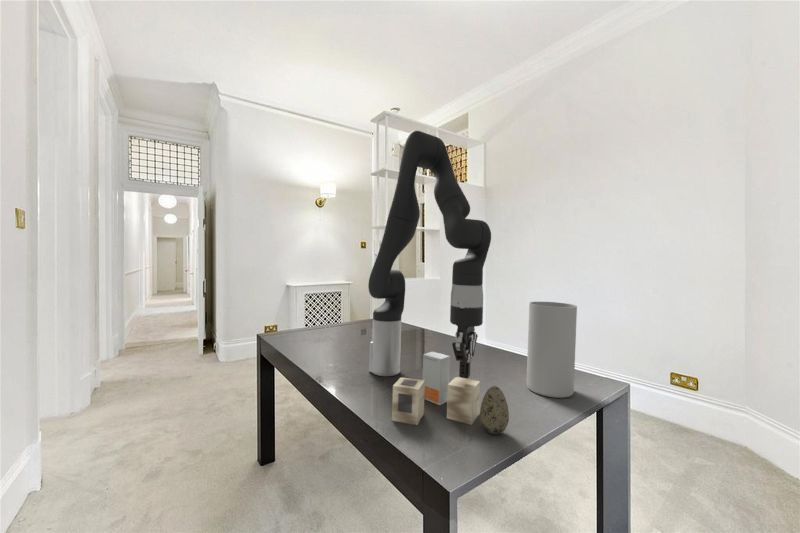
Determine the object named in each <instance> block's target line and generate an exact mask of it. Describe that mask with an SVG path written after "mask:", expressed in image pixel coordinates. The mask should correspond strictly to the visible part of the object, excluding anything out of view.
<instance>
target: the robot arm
mask: <svg viewBox="0 0 800 533" xmlns="http://www.w3.org/2000/svg"><path fill="white" fill-rule="evenodd" d="M401 153H402V154H401V159H400V164H399V170H398V176H397V181H396V185H395V186H396V187H395V190H394V194H393V198H392V202H391V205H390V208H389V212H388V216H387V219H386V223H385V224H386V225H385V228H384V232H383V236H382V238H381V239H382V240H381V244H380V247H379V250H378V253H377V256H376V258H375V260H374V263H373V266H372V268H371V272H370V275H369V278H368V293H369V295H370V296H371V297H372V298H374V299H377V300H378V299H381V300H382V299H385V300H384V302H383V303H382V304H381V305H380V306H378V307H377V308H375V309H374V310H373V311H372V312H373V313H372V338H371V339H372V340H371V341H370V342H369V351H368V352H369V356H368V357H369V359H368V372H370V373H372V374H373V375H376V376H379V377H393V376H397V375H398V374H400V373H401V346H402V345H401V344H402V315H403V312H404V309H405V296H406V279H405V278H406V277H405V275H404V274H403V273H402V271H400V270H398V269H392V268H393V266H394V263H395V261H396V259H397V258H398V256H399V255H400V254H401V252H403V251H404V250H405V248H406V247H407V246H408V245H409V244H410V243H411V241H412V240H413V238H414V236H415V234H416V232H417V227H418V224H419V221H420V215H421V210H420V204H419V201H418V196H417V193H416V186H415V185H416V184H415V182H416V176H417V171H418V168H421V169H424V170H429V171H430V172H431V173H432V174H433V176H434V177H435V179H436V181H435V184H434V187H433V188H434V189H433V195H434V200H435V202H436V204H437V207H438V208H439V211H440V212H441V215H442V219H443V227H444V234H445V235H444V236H445V239H446V241H447V243H449V245H450V246H451V247H453V248H454V249H461V250H464V249H465V250H467V252H466V254H465V256H464V258H461V259H457V260H455V261H454V262H453V264H452V272H451V273H452V279H451V282H452V283H451V284H452V285H451V292H450V308H449V309H450V310H449V311H450V312H449V313H450V316H449V322H450V324H452V325H455V326H456V327H457V329H456V332H455V334H454V336H455V338H454V339H455V340H456V341H452V350H453V353H454V357H455V361H457V362H459V374H458V376H459V377H460V378H465V379H470V377H471V362H472V361H473V357H474V356H475V350H476V345H477V340H478V337H479V335H478V333H477V332H476V331H475V330H476V329H475V327H479V326H482V325H483V319H484V315H483V314H484V288H483V284H484V283H483V282H484V280H483V278H484V266H485V263H486V261H487V260H486V259H487V256H488V253H489V248H490V245H491V242H492V232H491V228H490V226H489V224H488V223H487V222H486V221H484V220H482V219H481V220H480V219H474V218H473V219H471V218H467V217H468V216H469V215H470V212H471V205H470V203H469V200H468V199H467V197H466V196H465V193H464V192H463V190H462V188H461V186H460V184H459V182H458V181H457V180H458V179H457V178H456V175H455V172H454V169H453V166H452V162H451V160H450V155H449V153H448V148H447V147H446V144H445V143H444V141H443V140H442V139H441V138H439V137H438V136H436V135H435V136H434V135H432V134H430V133H426V132H423V131H421V130H412V131H410V133H409V134H408V136H407V137H406V139H405V142H404V146H403V149H402V152H401Z"/></svg>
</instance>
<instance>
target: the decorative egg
mask: <svg viewBox="0 0 800 533" xmlns="http://www.w3.org/2000/svg"><path fill="white" fill-rule="evenodd" d="M507 402H508V401H507V399H506V396H505V394H504V392H503V390H502V389H501V388H500V387H498V386H496V385H492V386H491V387H489V388H488V389H487V391H486V392H485V394H484V396H483V398H482V402H481V404H480V408H479V418H480V423H481V425H482V427H483V428H484V429H485V430H486V431H487V432H488V433H490V434H492V435H498V434H502V433H503V432H505V430H506V429H507V427H508V424H509V422H510V421H509V419H510V412H509V405H508V403H507Z"/></svg>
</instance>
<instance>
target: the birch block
mask: <svg viewBox="0 0 800 533" xmlns="http://www.w3.org/2000/svg"><path fill="white" fill-rule="evenodd" d="M480 383H481V381H479V380H475V379H470V378H467V379H466V378H461V377H460V376H459V377H458V376H455V377H454V378H453V379H452V380H451V381H449V384H448V390H447V402H446V419H447V420H448V419H449V420H451V421H455V422H459V423H464V424H467V425H471V426H472V425H473V424H474V422H476V421H475V420H476V419H477V418H478V416H480V389H481V388H480V386H481V384H480Z"/></svg>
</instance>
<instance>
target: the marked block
mask: <svg viewBox="0 0 800 533" xmlns="http://www.w3.org/2000/svg"><path fill="white" fill-rule="evenodd" d="M424 389H425V380H422V379H417V378H410V377H400V378H398V380H396V381H395V383H394V384H393V385H392V406H391V407H392V408H391V410H392V411H391V413H392V414H391V421H392V422H397V423H403V424H404V423H405V424H408V425H414V424H415V425H414V426H418V425H419V424H420V421H421V420H420V419H422V418H423V416H424V414H425V399H424ZM421 417H422V418H421Z"/></svg>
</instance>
